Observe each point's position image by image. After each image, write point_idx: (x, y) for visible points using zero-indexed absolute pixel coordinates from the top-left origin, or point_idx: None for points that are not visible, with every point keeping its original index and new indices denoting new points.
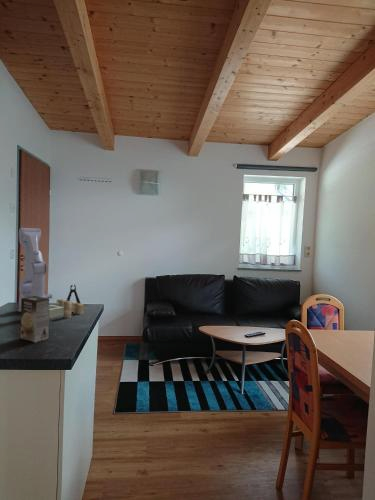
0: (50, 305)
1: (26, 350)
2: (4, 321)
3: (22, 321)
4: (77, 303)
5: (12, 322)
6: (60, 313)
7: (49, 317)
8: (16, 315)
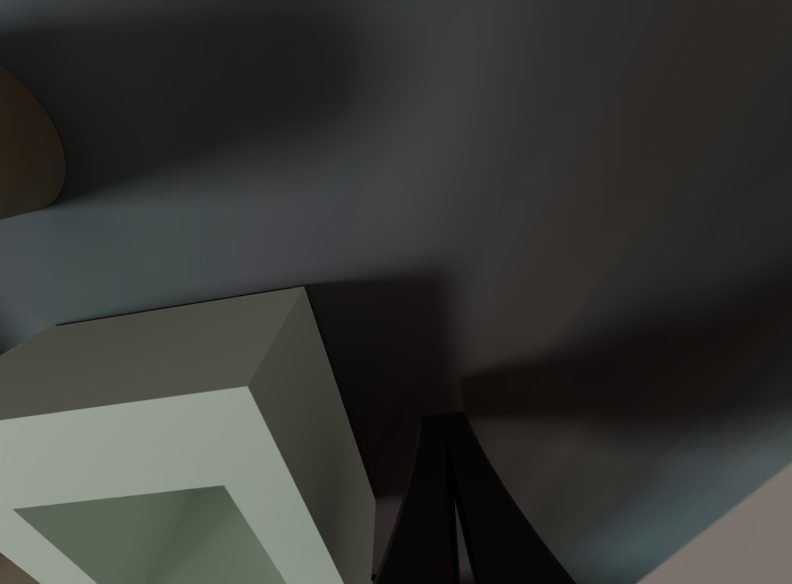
0: None
1: None
2: (778, 472)
3: None
4: None
5: (779, 393)
6: (75, 342)
7: (304, 302)
8: None
